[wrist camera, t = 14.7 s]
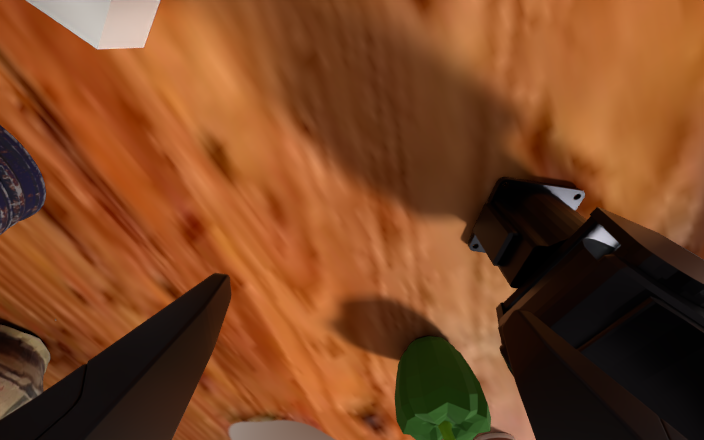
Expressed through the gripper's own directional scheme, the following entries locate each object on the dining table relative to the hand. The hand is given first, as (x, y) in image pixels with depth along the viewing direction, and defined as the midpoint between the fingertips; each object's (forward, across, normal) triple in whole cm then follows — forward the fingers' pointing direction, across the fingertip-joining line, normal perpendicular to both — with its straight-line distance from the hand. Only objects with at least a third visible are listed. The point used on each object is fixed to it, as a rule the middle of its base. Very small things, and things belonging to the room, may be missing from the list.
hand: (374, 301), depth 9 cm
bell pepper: (+13, -11, +21) cm, 27 cm away
